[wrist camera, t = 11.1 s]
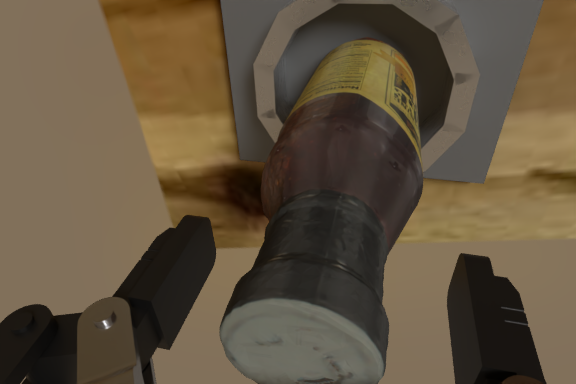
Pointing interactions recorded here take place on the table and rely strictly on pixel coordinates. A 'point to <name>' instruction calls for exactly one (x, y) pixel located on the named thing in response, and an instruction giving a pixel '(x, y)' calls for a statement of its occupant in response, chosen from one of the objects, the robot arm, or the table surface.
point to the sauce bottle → (330, 224)
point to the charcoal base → (405, 39)
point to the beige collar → (418, 4)
